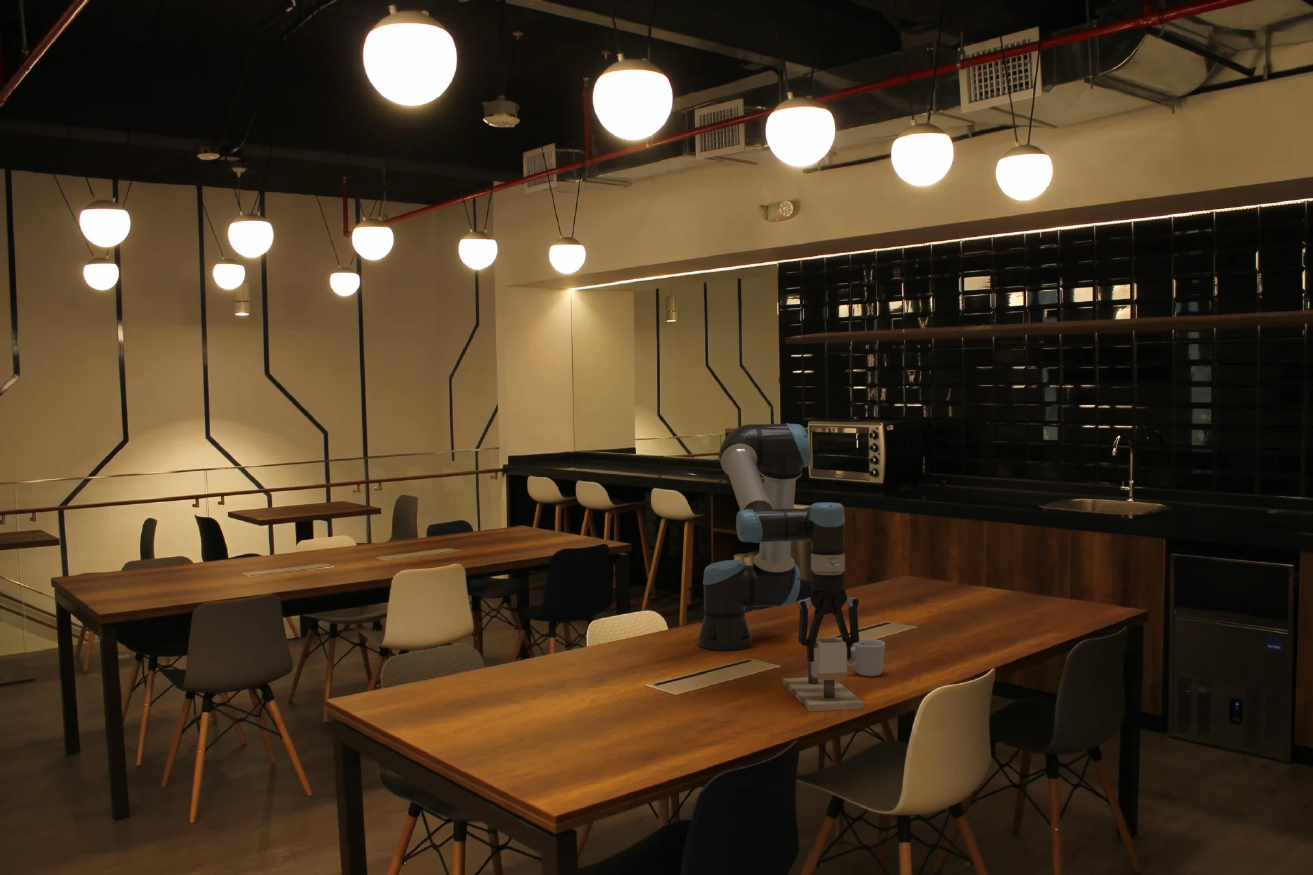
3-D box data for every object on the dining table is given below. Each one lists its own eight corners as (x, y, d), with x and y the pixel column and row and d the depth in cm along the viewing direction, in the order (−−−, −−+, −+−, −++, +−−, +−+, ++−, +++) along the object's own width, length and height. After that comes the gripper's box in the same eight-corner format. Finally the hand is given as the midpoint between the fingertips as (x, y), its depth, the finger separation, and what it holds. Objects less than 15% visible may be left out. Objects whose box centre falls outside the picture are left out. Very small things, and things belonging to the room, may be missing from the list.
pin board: (783, 684, 240) (782, 653, 240) (831, 681, 242) (830, 651, 241) (810, 711, 218) (809, 677, 218) (862, 708, 220) (862, 674, 220)
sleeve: (812, 673, 226) (811, 638, 226) (837, 672, 227) (837, 637, 227) (820, 680, 220) (819, 644, 220) (846, 678, 221) (846, 642, 221)
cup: (851, 680, 243) (850, 647, 243) (836, 672, 250) (836, 640, 250) (891, 676, 246) (891, 644, 245) (875, 668, 253) (875, 637, 253)
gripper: (791, 576, 218) (792, 681, 219) (874, 573, 221) (875, 677, 221) (782, 571, 226) (783, 673, 226) (863, 568, 228) (864, 668, 229)
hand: (829, 674), depth 224 cm, fingers closed on sleeve, 6 cm apart
